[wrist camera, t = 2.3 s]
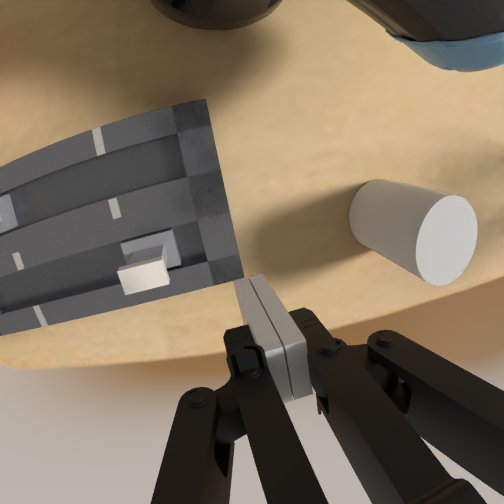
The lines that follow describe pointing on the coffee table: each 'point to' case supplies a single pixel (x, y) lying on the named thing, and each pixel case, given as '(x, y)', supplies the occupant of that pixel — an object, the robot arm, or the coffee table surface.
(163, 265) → the cream fader
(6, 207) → the orange fader
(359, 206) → the grey solid cylinder
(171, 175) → the console board
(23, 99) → the coffee table surface
